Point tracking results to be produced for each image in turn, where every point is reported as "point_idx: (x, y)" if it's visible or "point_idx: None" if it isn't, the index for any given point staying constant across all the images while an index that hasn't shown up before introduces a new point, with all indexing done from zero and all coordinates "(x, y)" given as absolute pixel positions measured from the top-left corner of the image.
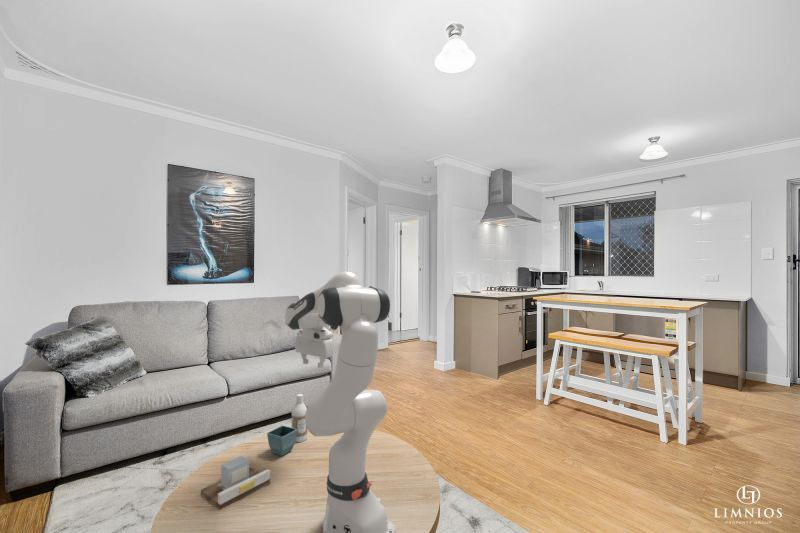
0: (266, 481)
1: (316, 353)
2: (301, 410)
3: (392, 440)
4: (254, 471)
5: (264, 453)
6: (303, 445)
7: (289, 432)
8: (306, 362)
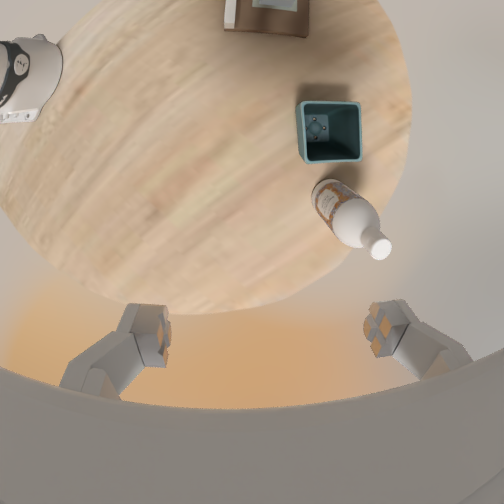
0: None
1: (110, 439)
2: (345, 219)
3: None
4: (282, 28)
5: None
6: (296, 180)
7: (328, 156)
8: (375, 321)
